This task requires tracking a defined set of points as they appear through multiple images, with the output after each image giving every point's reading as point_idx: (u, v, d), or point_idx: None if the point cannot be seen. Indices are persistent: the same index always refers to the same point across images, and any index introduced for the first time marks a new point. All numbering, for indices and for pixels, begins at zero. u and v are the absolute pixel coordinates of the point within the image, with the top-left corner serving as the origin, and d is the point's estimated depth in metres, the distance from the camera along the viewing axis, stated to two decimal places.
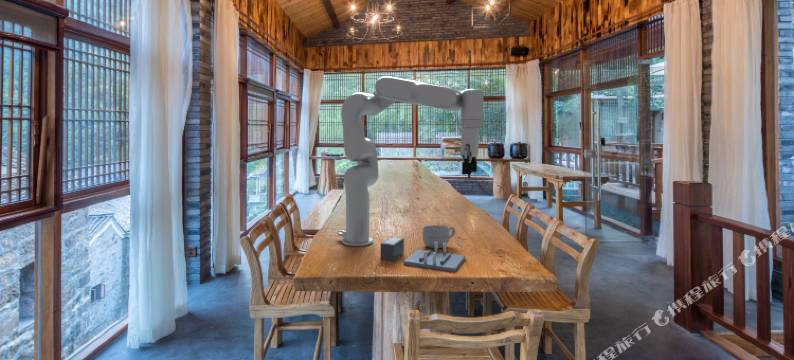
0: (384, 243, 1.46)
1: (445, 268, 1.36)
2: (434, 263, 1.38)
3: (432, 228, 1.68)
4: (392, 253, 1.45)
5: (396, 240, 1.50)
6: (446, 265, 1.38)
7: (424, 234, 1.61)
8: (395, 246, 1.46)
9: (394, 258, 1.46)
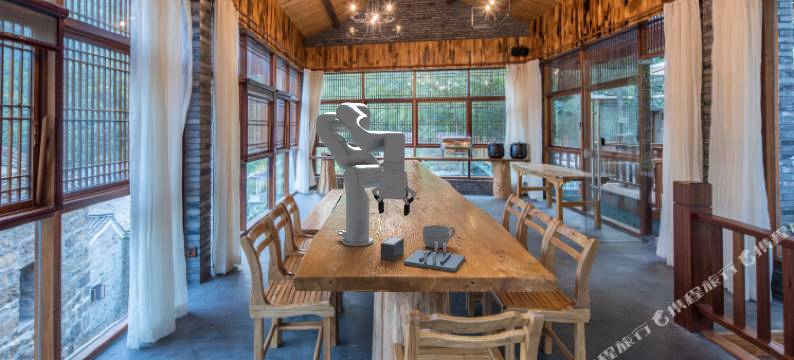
0: (384, 243, 1.46)
1: (445, 268, 1.36)
2: (434, 263, 1.38)
3: (432, 228, 1.68)
4: (392, 253, 1.45)
5: (396, 240, 1.50)
6: (446, 265, 1.38)
7: (424, 234, 1.61)
8: (395, 246, 1.46)
9: (394, 258, 1.46)
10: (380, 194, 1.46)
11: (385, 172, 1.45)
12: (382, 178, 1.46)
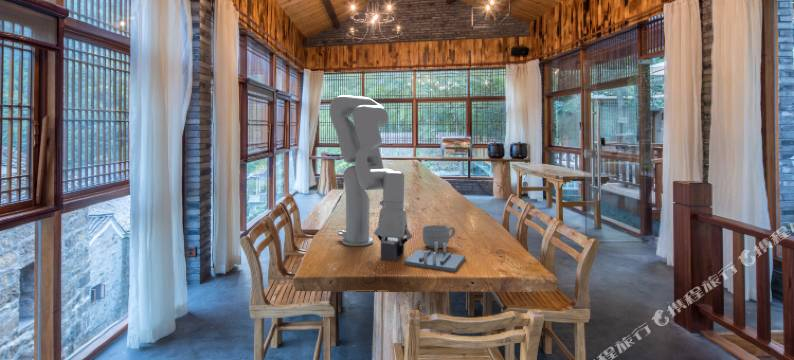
0: (384, 243, 1.46)
1: (445, 268, 1.36)
2: (434, 263, 1.38)
3: (432, 228, 1.68)
4: (392, 252, 1.45)
5: (397, 240, 1.50)
6: (446, 265, 1.38)
7: (424, 234, 1.61)
8: (396, 245, 1.46)
9: (394, 258, 1.46)
10: (379, 232, 1.48)
11: (384, 211, 1.47)
12: (381, 217, 1.47)
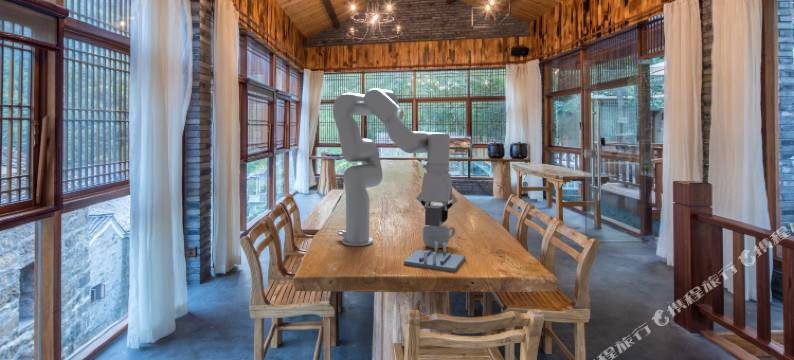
0: (429, 207, 1.40)
1: (445, 268, 1.36)
2: (434, 263, 1.38)
3: (432, 228, 1.68)
4: (438, 217, 1.38)
5: (441, 205, 1.43)
6: (446, 265, 1.38)
7: (424, 234, 1.61)
8: (441, 210, 1.39)
9: (439, 223, 1.39)
10: (423, 197, 1.42)
11: (429, 174, 1.40)
12: (425, 180, 1.41)
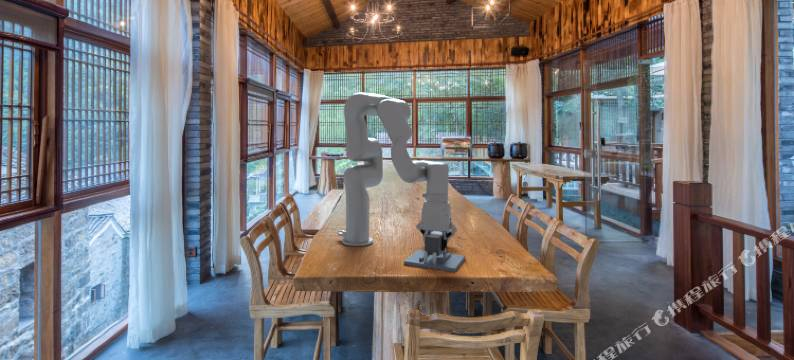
0: (428, 236, 1.41)
1: (445, 268, 1.36)
2: (434, 263, 1.38)
3: None
4: (437, 246, 1.39)
5: (440, 233, 1.45)
6: (446, 265, 1.38)
7: None
8: (440, 239, 1.41)
9: (439, 252, 1.40)
10: (422, 226, 1.43)
11: (428, 204, 1.41)
12: (425, 210, 1.42)
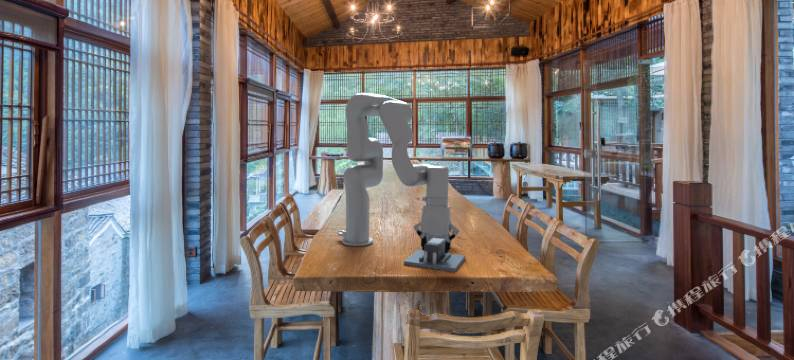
0: (428, 244, 1.41)
1: (445, 268, 1.36)
2: (434, 263, 1.38)
3: None
4: (437, 254, 1.40)
5: (439, 241, 1.45)
6: (446, 265, 1.38)
7: None
8: (439, 247, 1.41)
9: (438, 259, 1.41)
10: (422, 229, 1.43)
11: (428, 207, 1.42)
12: (425, 213, 1.42)
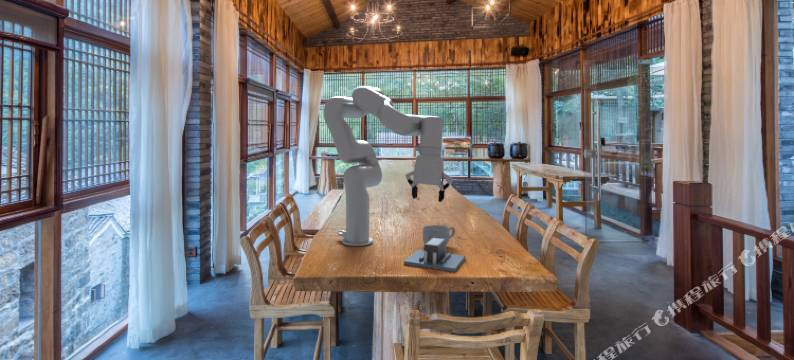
0: (428, 244, 1.41)
1: (445, 268, 1.36)
2: (434, 263, 1.38)
3: (432, 228, 1.68)
4: (437, 254, 1.40)
5: (439, 241, 1.45)
6: (446, 265, 1.38)
7: (424, 234, 1.61)
8: (439, 247, 1.41)
9: (438, 259, 1.41)
10: (415, 179, 1.44)
11: (421, 157, 1.42)
12: (418, 163, 1.43)
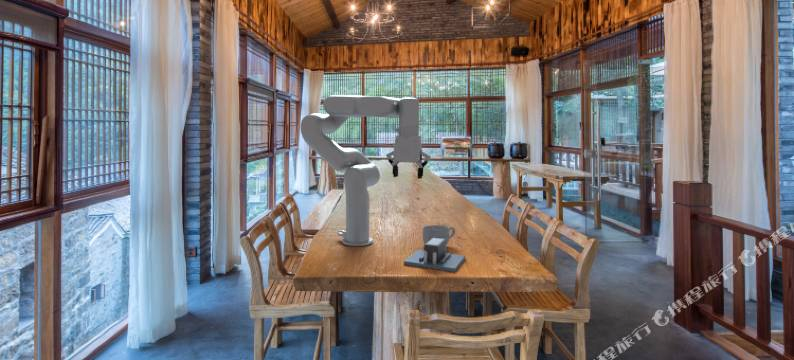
0: (428, 244, 1.41)
1: (445, 268, 1.36)
2: (434, 263, 1.38)
3: (432, 228, 1.68)
4: (437, 254, 1.40)
5: (439, 241, 1.45)
6: (446, 265, 1.38)
7: (424, 234, 1.61)
8: (439, 247, 1.41)
9: (438, 259, 1.41)
10: (395, 158, 1.53)
11: (400, 136, 1.51)
12: (397, 142, 1.52)
